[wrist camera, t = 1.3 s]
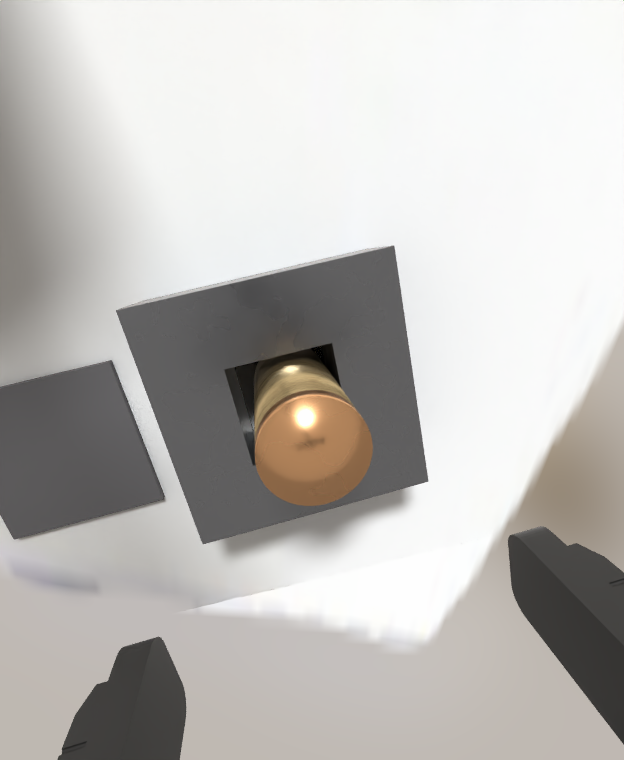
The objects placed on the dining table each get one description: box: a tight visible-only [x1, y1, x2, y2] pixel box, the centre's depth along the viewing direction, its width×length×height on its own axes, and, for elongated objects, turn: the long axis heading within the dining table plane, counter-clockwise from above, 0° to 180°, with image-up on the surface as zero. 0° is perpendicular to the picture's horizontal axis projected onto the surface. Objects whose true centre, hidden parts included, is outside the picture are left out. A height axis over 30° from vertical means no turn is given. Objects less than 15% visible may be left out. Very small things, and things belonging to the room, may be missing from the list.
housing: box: [116, 246, 428, 544], centre depth 24 cm, size 14×14×5 cm
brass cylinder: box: [254, 348, 373, 506], centre depth 21 cm, size 5×5×11 cm
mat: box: [0, 360, 164, 539], centre depth 25 cm, size 10×10×1 cm
